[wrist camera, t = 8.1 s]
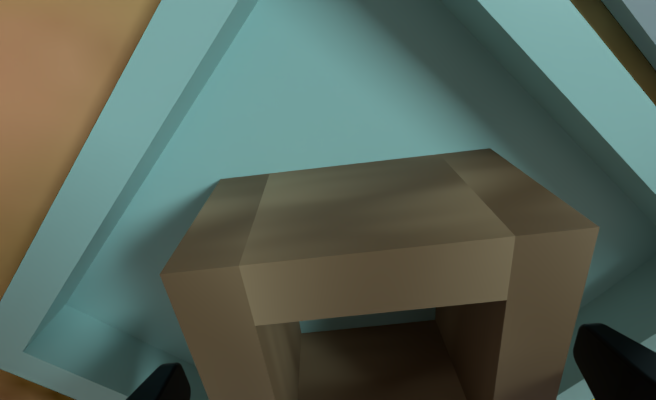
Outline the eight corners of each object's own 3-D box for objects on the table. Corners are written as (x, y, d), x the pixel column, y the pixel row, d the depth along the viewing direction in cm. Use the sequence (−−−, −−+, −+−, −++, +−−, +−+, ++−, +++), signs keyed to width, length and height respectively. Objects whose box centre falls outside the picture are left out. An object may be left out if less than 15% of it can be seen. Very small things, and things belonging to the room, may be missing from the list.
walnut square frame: (489, 147, 9) (599, 227, 6) (469, 380, 13) (526, 515, 9) (220, 179, 9) (159, 274, 6) (278, 398, 13) (263, 537, 10)
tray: (702, 228, 11) (794, 277, 9) (376, 457, 16) (385, 524, 14) (322, -198, 7) (323, -302, 5) (35, 295, 12) (-30, 356, 10)
